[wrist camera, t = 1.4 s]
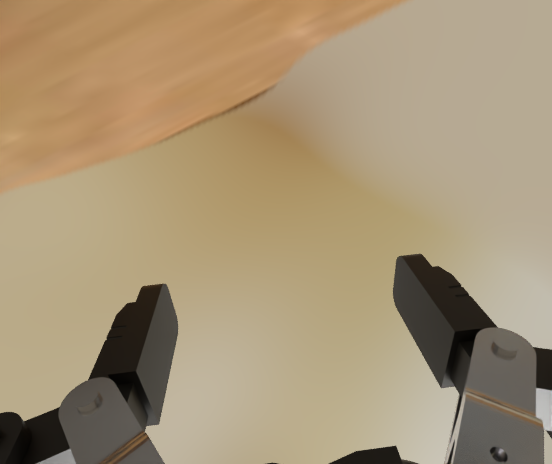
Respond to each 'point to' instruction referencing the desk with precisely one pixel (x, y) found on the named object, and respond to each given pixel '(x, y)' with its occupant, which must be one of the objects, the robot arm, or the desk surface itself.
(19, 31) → the desk surface
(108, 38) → the desk surface
